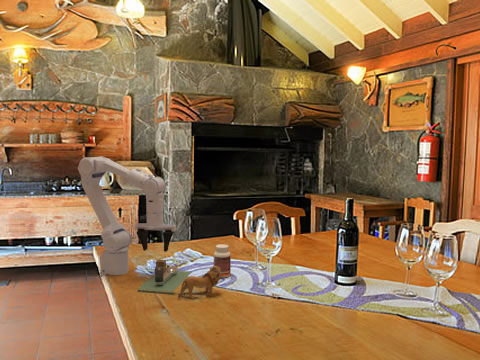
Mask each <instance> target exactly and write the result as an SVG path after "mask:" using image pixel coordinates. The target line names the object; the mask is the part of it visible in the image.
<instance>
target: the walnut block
mask: <svg viewBox="0 0 480 360" xmlns="http://www.w3.org/2000/svg"><path fill="white" fill-rule="evenodd" d="M155 267H163V273H164V272H165V269H166V268H167V260H166V259H157V260H156V261H155Z"/></svg>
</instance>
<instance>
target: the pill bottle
mask: <svg viewBox="0 0 480 360" xmlns="http://www.w3.org/2000/svg"><path fill="white" fill-rule="evenodd" d="M229 248H230V247H229V245H228V244H217V245H215V252H214V253H213V266H217V267H220V271H221V277H220V279H225V278H228V277H230V276H231V265H232V264H231V260H232V259H231V257H232V254H231V252H230V251H229Z"/></svg>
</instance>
